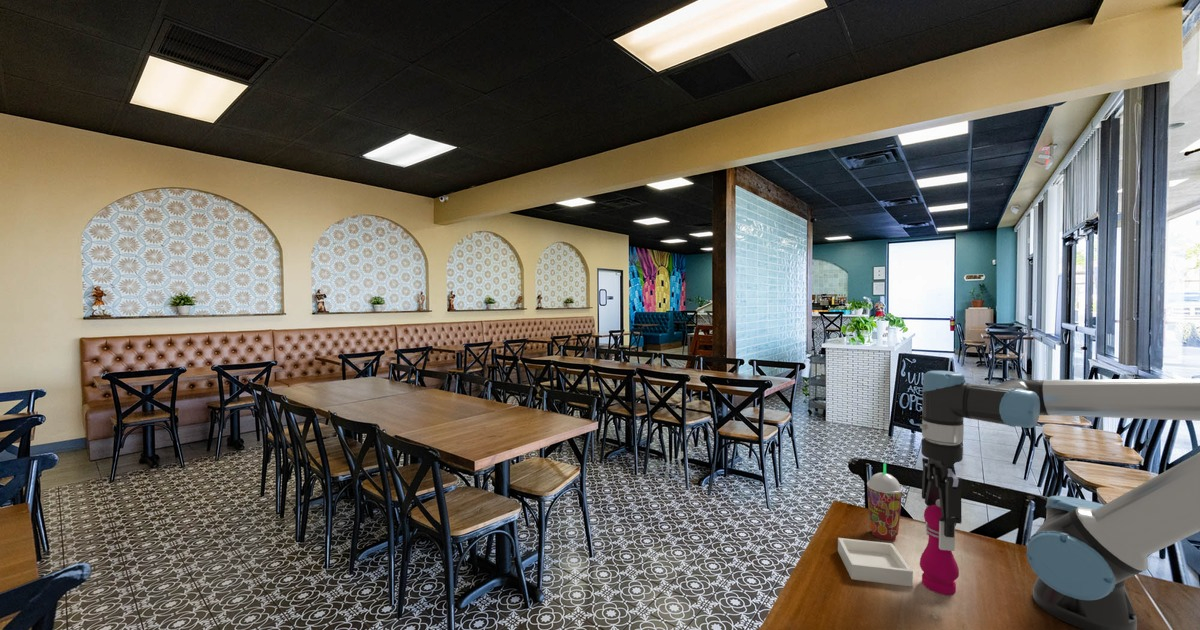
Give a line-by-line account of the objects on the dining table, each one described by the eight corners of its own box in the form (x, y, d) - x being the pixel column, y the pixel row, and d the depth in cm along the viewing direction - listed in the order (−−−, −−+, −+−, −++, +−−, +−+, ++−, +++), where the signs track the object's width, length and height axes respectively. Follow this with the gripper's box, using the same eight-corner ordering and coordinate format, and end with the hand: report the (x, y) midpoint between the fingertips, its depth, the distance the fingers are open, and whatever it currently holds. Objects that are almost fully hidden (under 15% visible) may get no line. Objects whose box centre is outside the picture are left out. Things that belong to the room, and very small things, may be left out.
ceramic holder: (892, 557, 120) (892, 543, 120) (912, 586, 108) (912, 571, 107) (837, 551, 123) (838, 537, 123) (851, 579, 110) (851, 564, 110)
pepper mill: (965, 598, 103) (967, 507, 103) (928, 594, 105) (930, 505, 104) (948, 579, 110) (950, 494, 110) (913, 575, 112) (915, 492, 111)
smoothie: (859, 529, 134) (860, 459, 133) (885, 526, 136) (886, 457, 135) (881, 544, 126) (883, 470, 125) (909, 541, 127) (910, 467, 127)
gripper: (906, 428, 116) (904, 520, 117) (942, 452, 98) (940, 562, 99) (941, 429, 115) (939, 524, 115) (984, 455, 96) (981, 567, 97)
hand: (939, 541), depth 107 cm, fingers closed on pepper mill, 6 cm apart
